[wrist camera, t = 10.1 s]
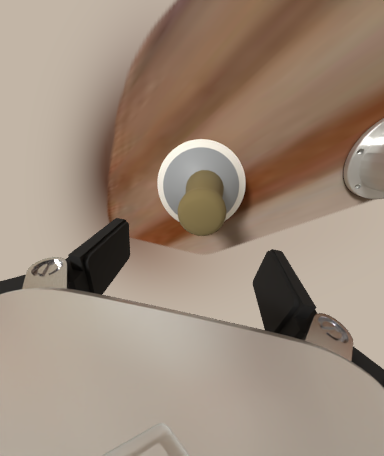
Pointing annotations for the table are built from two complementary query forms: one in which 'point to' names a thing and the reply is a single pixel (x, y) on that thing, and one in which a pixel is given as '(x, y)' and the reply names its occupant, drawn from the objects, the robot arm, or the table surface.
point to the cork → (202, 204)
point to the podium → (195, 161)
